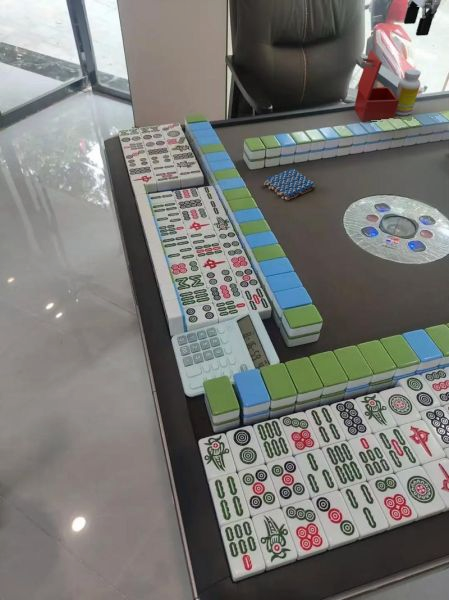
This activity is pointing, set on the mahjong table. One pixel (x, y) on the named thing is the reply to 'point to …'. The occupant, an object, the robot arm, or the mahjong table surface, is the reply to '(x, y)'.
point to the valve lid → (368, 73)
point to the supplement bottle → (407, 91)
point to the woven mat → (289, 184)
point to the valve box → (376, 104)
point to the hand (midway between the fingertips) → (415, 29)
